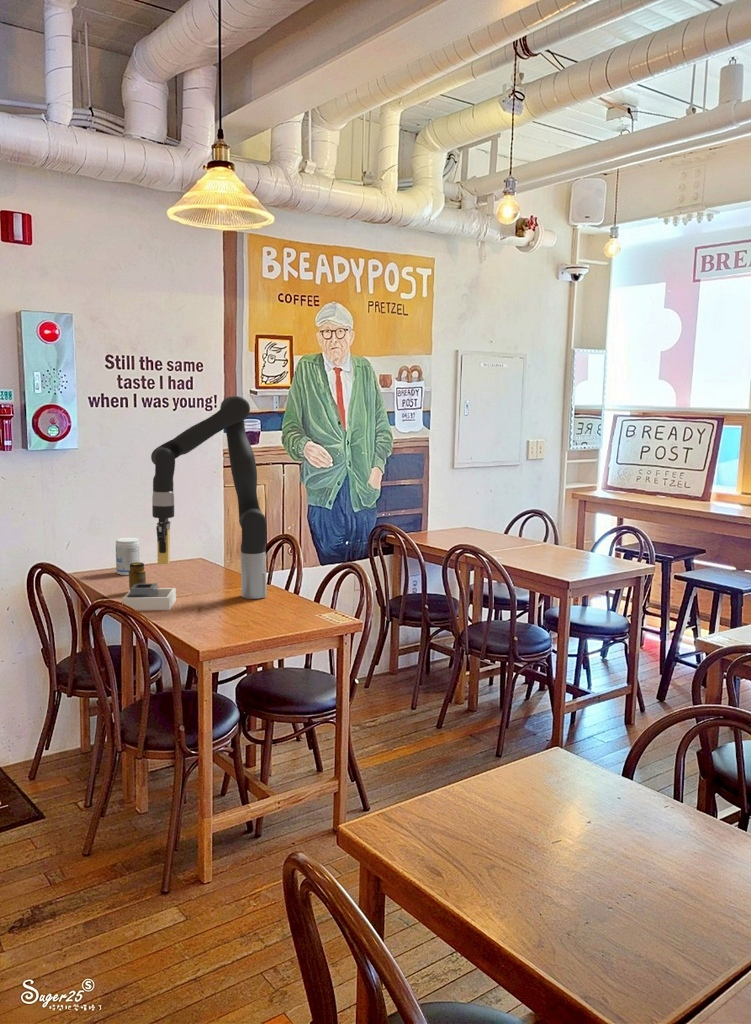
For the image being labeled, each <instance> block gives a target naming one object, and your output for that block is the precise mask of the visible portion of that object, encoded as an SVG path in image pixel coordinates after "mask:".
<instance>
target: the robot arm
mask: <svg viewBox="0 0 751 1024" xmlns="http://www.w3.org/2000/svg"><path fill="white" fill-rule="evenodd" d="M219 408H220V409H219V410H218V411H216V412H214V414H212V415H211V416H209V417H208V418H206V419H204V420H202V421H200V422H198V423H196V424H194V425H191V426H190V427H189V428H186V429H185V430H184V431H182V432H181V433H180V434H178V435H177V436H176V437H174V438H173V439H171V440H168V441H167V442H164V443H163V444H161V445H159V446H157V447H156V448H154V450H152V452H151V455H150V458H151V459H150V460H151V462H152V464H154V465H155V466H154V467H155V468H154V469H155V471H154V475H153V479H152V497H151V498H152V499H151V501H152V506H151V507H152V510H151V511H152V514H151V515H152V518H154V519H158V522H157V523H156V527H155V529H156V536H157V538H156V541H158V542H159V552H160V553H165V552H166V536H167V531H168V530H169V529H170V530H171V521H169V519H171V518H174V517H175V494H174V493H175V492H174V475H175V468H176V459H178V457H180V456H183V455H186V454H189V453H191V452H192V451H193V450H195V449H196V448H198V447H199V446H201V445H202V444H204V443H205V442H206V441H207V440H209V439H211V438H212V437H213V436H215V435H216V434H218V433H219V432H221V431H223V430H225V434H226V440H227V441H226V442H227V449H228V456H229V464H230V465H229V466H230V470H231V475H232V481H233V485H234V489H235V493H236V497H237V502H238V503H237V504H238V505H237V506H238V521H239V526H240V528H241V544H240V573H241V574H240V576H241V577H240V579H241V598H243V599H246V600H255V599H256V600H258V599H265V598H267V592H268V591H267V590H268V589H267V584H268V583H267V566H266V565H267V554H266V553H267V552H266V551H267V548H266V547H267V540H268V539H267V536H268V534H267V533H268V532H267V531H268V529H267V527H268V525H267V518H266V517H265V515H264V513H263V512H262V511H261V508H260V504H259V500H258V493H257V492H258V490H257V487H258V470H257V465H256V464H257V463H256V458H255V453H254V451H253V448H252V446H251V443H250V441H249V439H248V437H247V433H246V432H247V431H246V427H245V426H246V425H245V420H246V419H247V417H248V416H249V415H250V411H251V406H250V403H249V402H248V400H247V399H246V398H245V397H241V396H238V395H237V396H234V395H233V396H227V397H225V398H224V399H223V400H222V401H221V403H220V407H219ZM165 532H166V533H165ZM160 536H163V538H160Z"/></svg>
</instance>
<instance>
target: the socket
mask: <svg viewBox="0 0 751 1024" xmlns="http://www.w3.org/2000/svg"><path fill="white" fill-rule="evenodd" d="M130 597H158V583H155V582H152V583H151V582H150V583H147V582H146V583H144V584H134V585H133V586H132V587H131V588H130Z"/></svg>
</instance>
